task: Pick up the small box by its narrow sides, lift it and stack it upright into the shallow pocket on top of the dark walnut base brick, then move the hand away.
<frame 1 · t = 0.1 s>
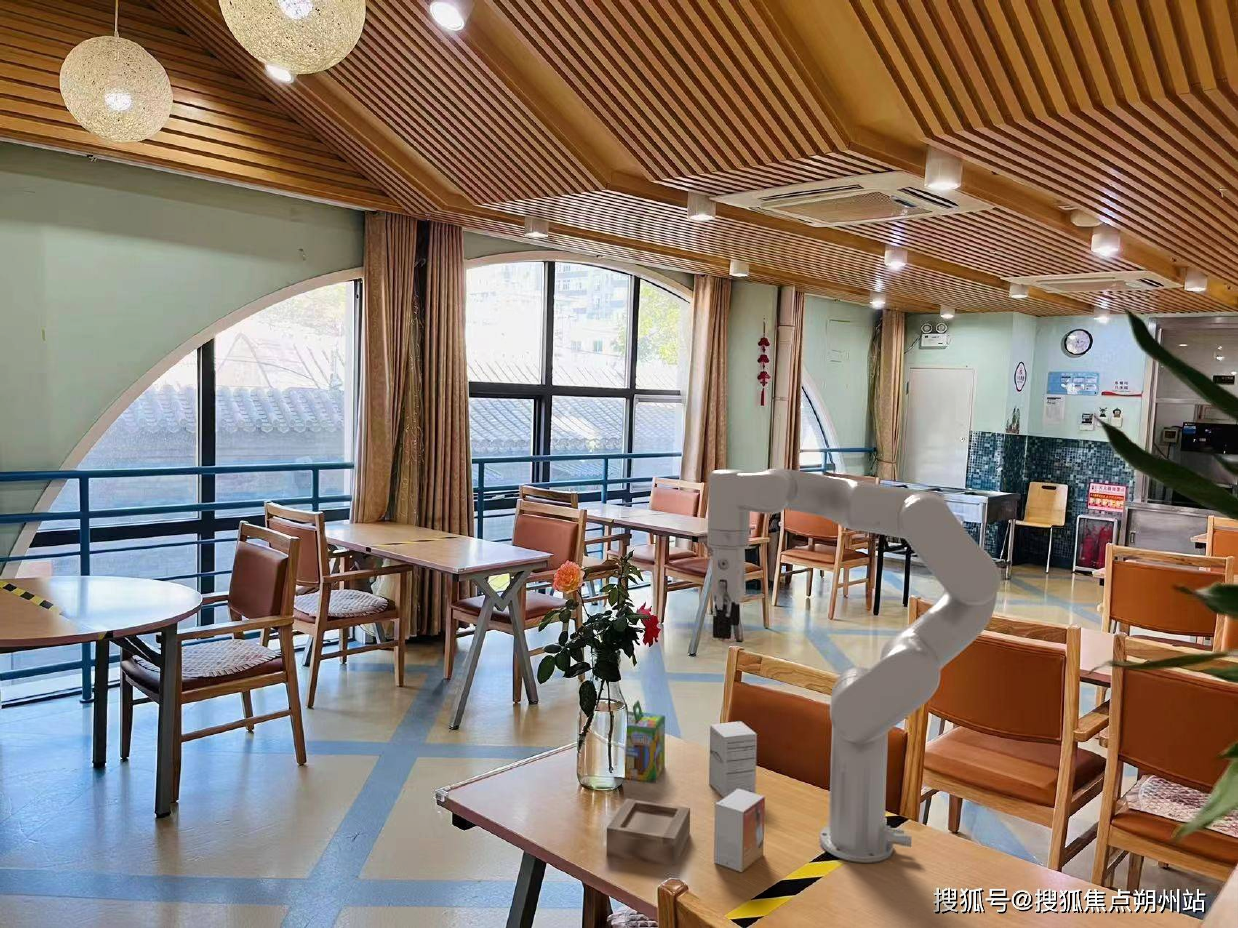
hand: (726, 631, 163), 37 cm above the table, tool pointing down, fingers open, 9 cm apart
supplement box: (731, 790, 181), on the table
chalk box: (639, 773, 189), on the table
walnut base brick: (649, 846, 159), on the table
small box: (738, 859, 154), on the table
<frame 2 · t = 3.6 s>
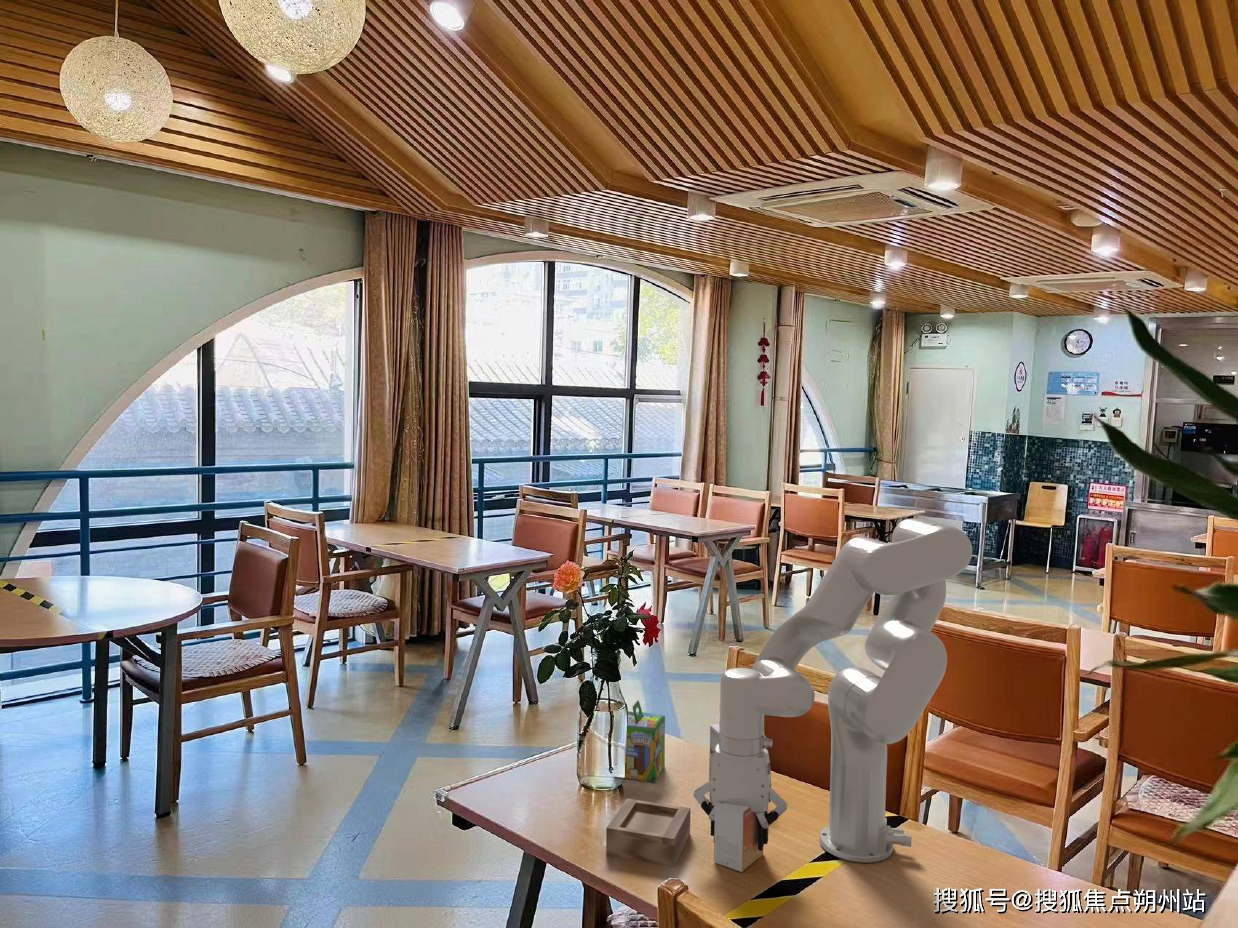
hand: (739, 842, 154), 3 cm above the table, tool pointing down, fingers closed on small box, 7 cm apart
small box: (738, 859, 154), on the table, touching gripper
everything else where it was.
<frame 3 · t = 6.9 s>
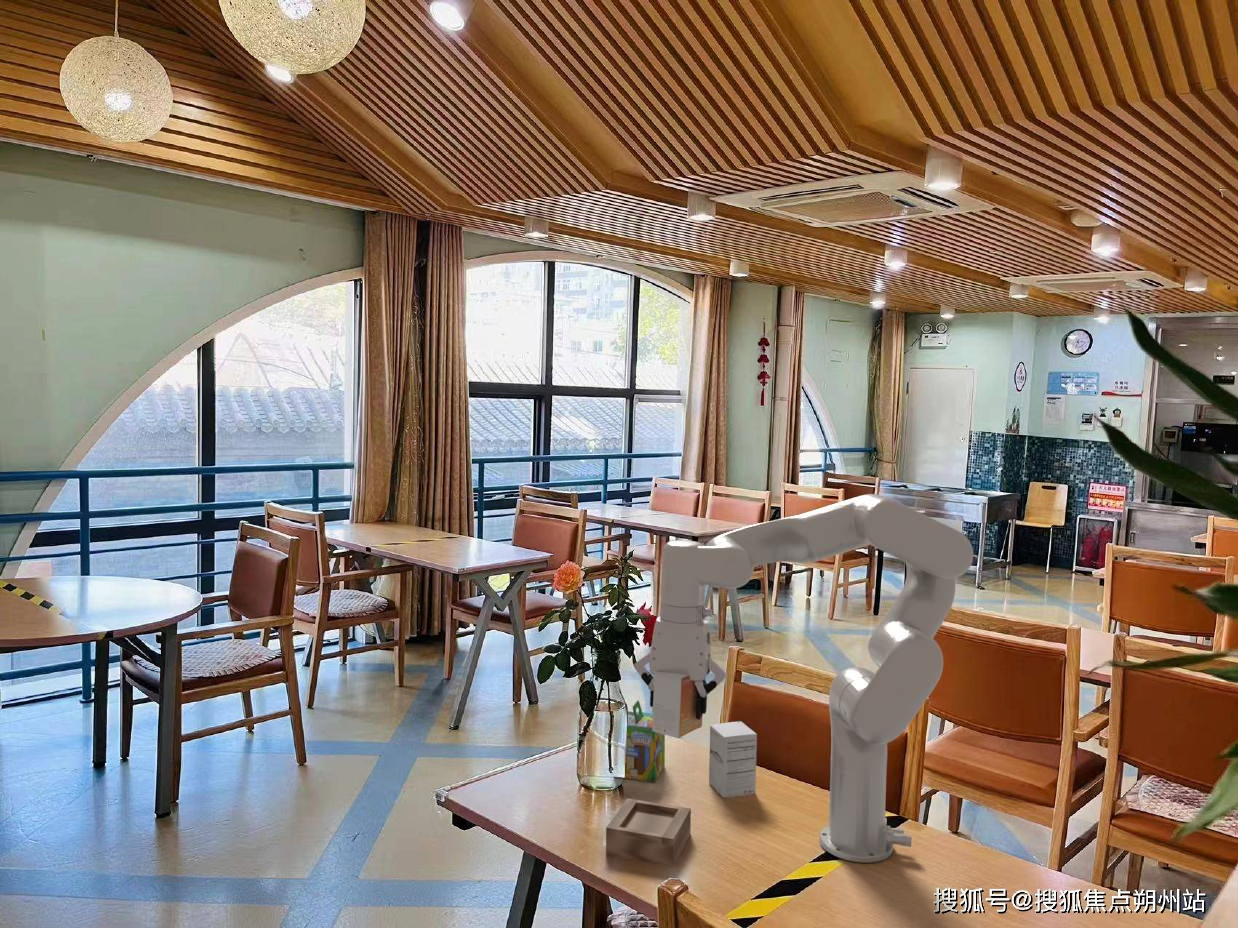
hand: (677, 713, 155), 24 cm above the table, tool pointing down, fingers closed on small box, 7 cm apart
small box: (677, 730, 155), point 21 cm above the table, touching gripper
everything else where it was.
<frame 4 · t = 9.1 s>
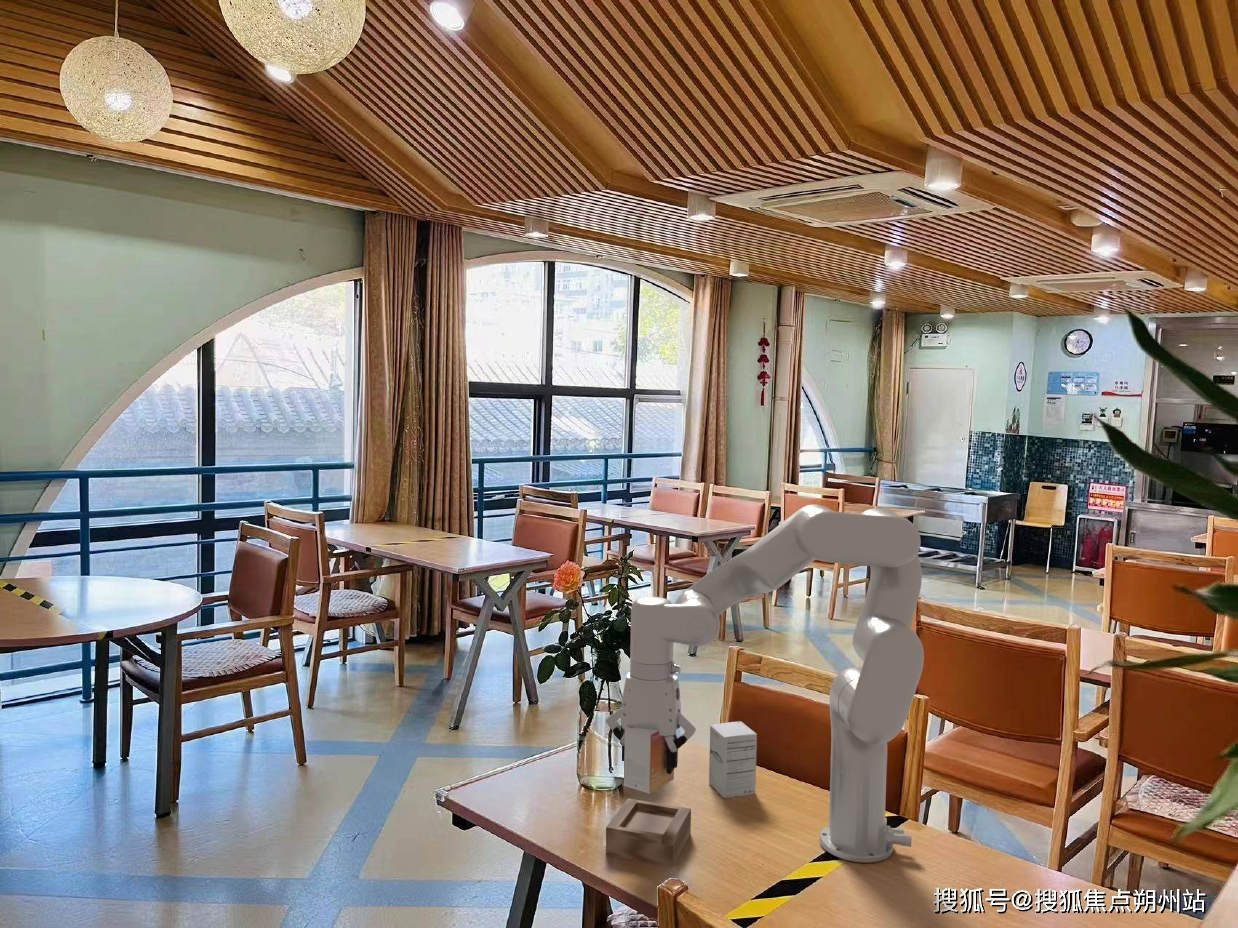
hand: (649, 767, 158), 14 cm above the table, tool pointing down, fingers closed on small box, 7 cm apart
small box: (649, 783, 158), point 11 cm above the table, touching gripper
everything else where it was.
when the fingers open (9 cm above the table, at t = 10.7 s): small box drops 2 cm, resting on walnut base brick.
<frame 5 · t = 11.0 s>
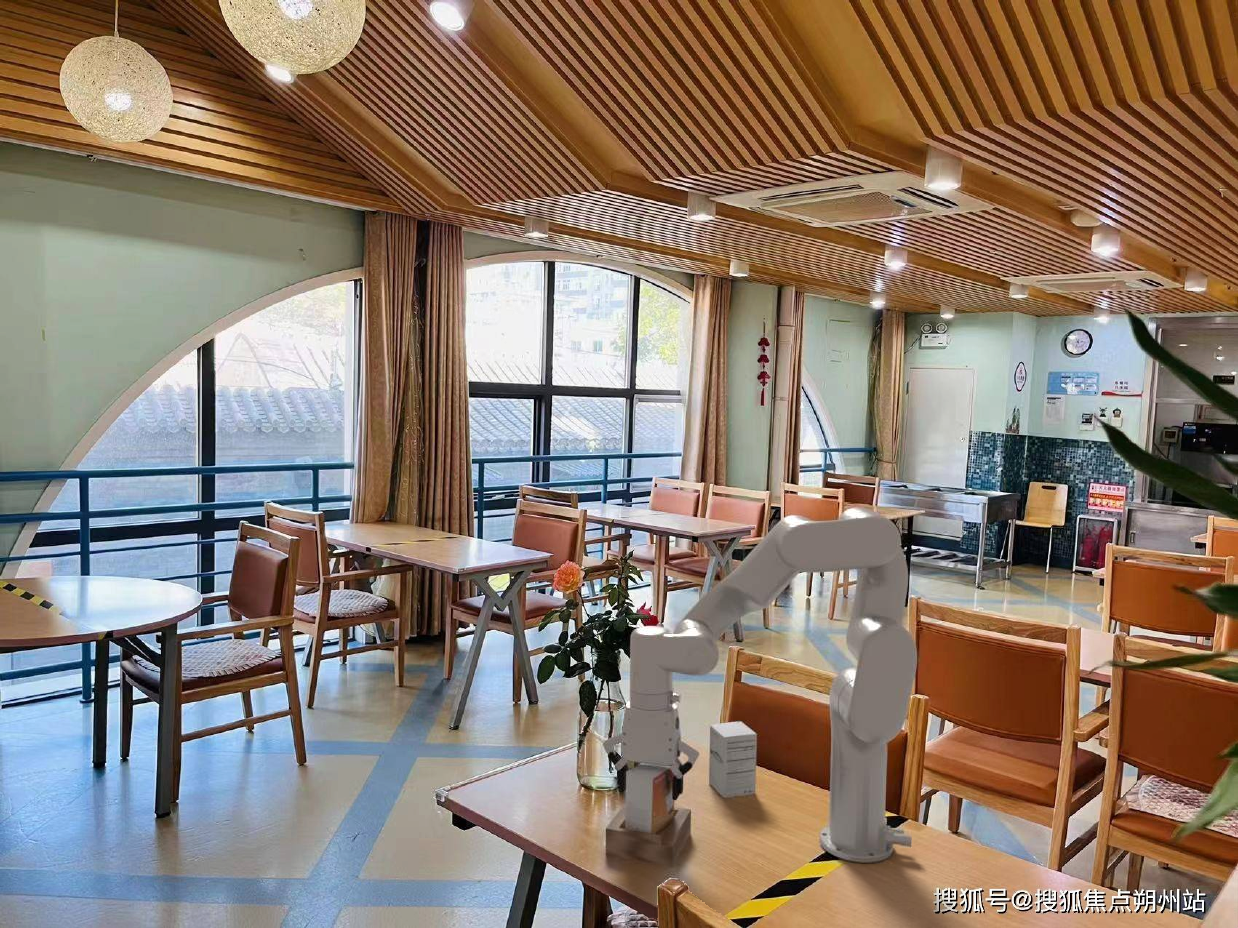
hand: (649, 793, 158), 9 cm above the table, tool pointing down, fingers open, 9 cm apart
walnut base brick: (649, 847, 159), on the table, touching small box
small box: (649, 826, 158), point 3 cm above the table, touching walnut base brick
everything else where it was.
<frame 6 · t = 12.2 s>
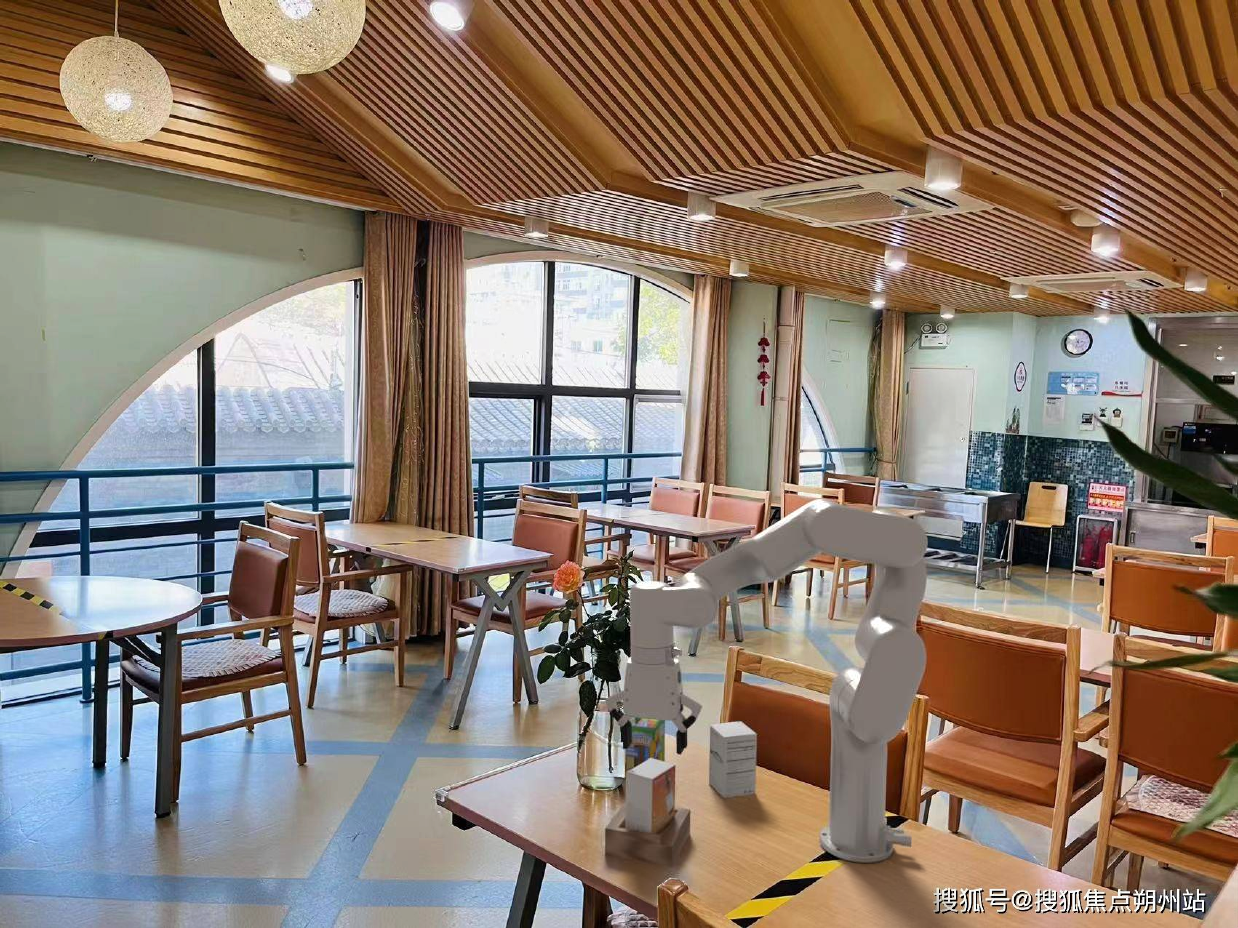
hand: (653, 748, 157), 17 cm above the table, tool pointing down, fingers open, 9 cm apart
nothing on the table moved.
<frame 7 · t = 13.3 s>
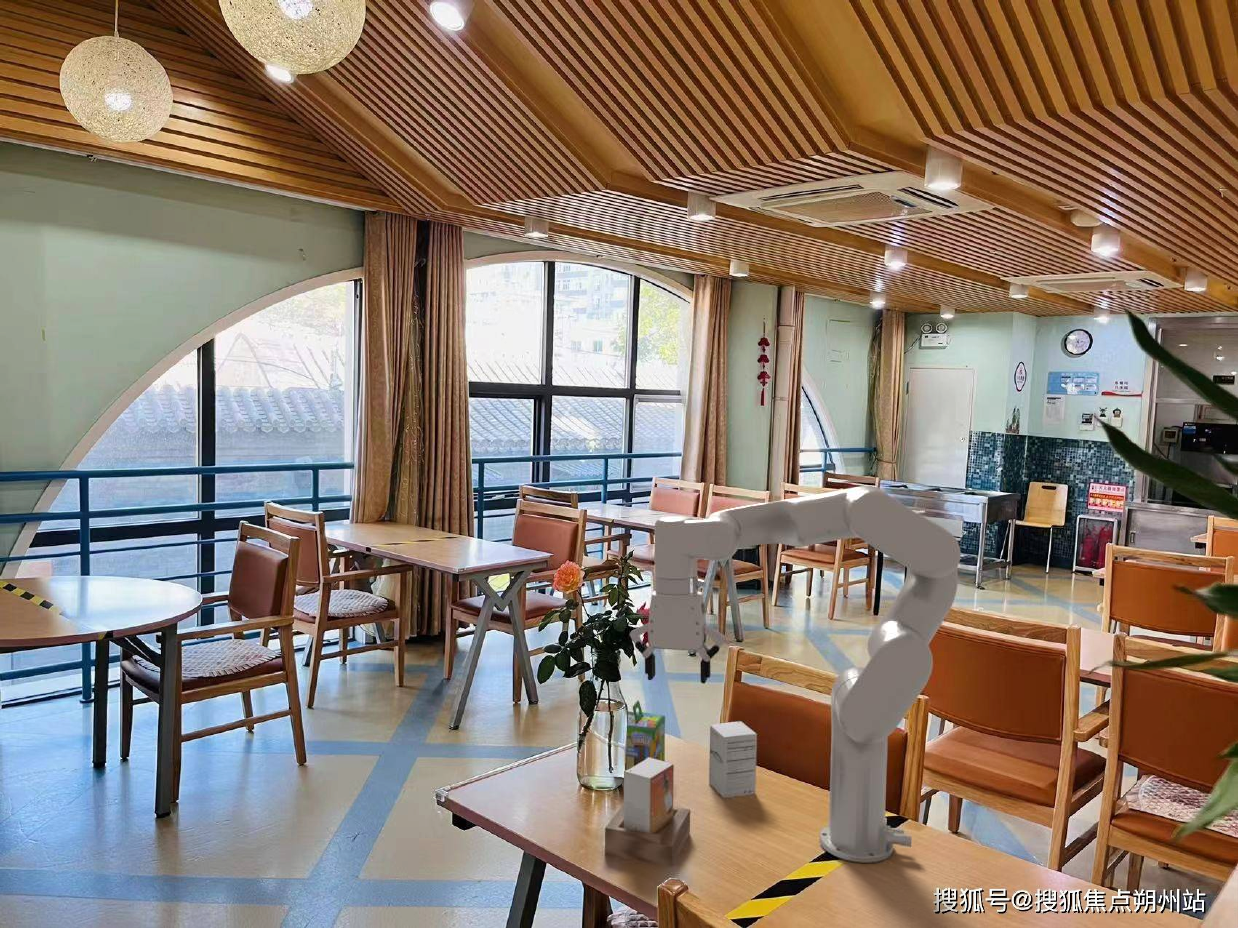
hand: (677, 679, 161), 28 cm above the table, tool pointing down, fingers open, 9 cm apart
nothing on the table moved.
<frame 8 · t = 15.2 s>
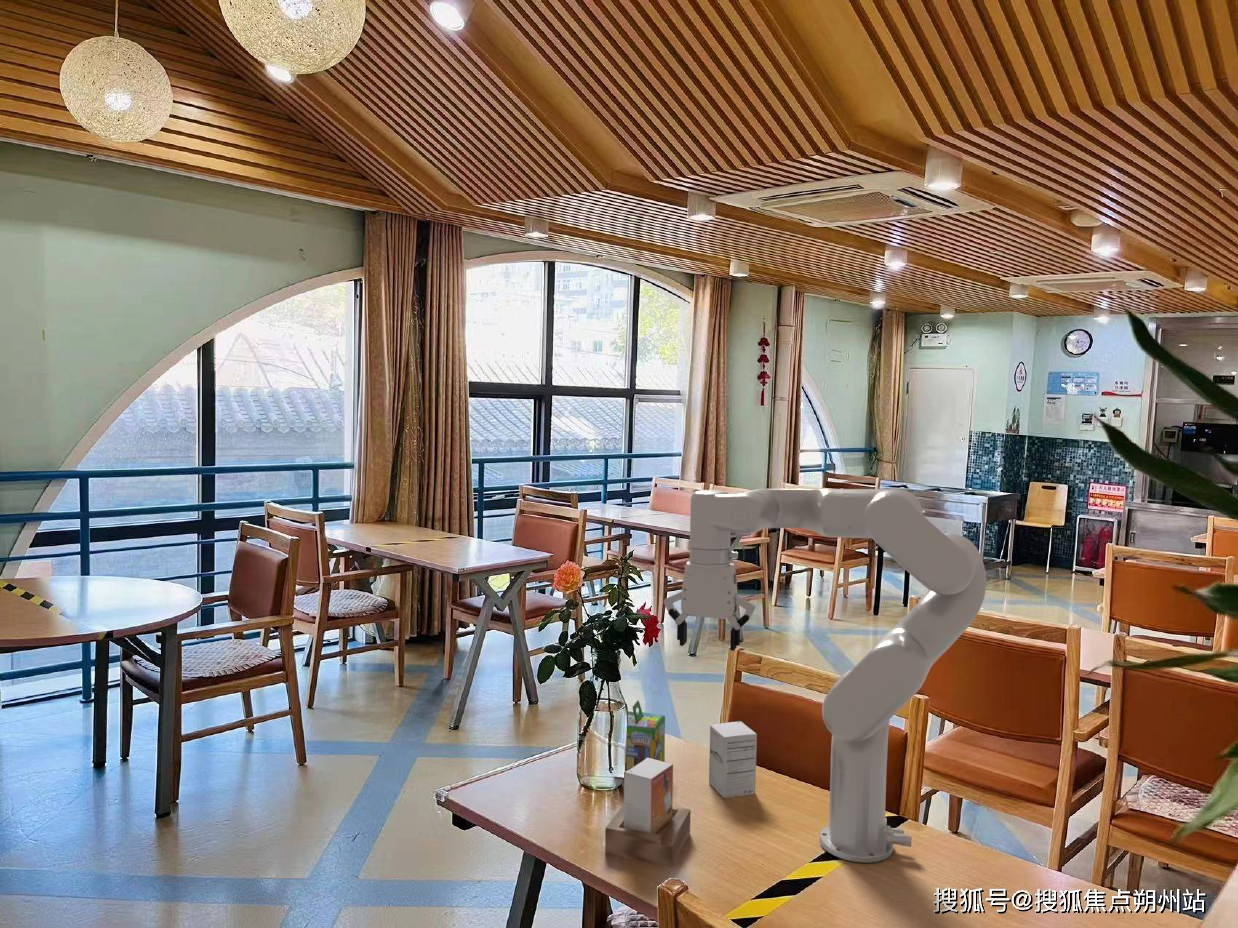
hand: (708, 646, 169), 32 cm above the table, tool pointing down, fingers open, 9 cm apart
nothing on the table moved.
at the end: small box 0.2 cm off-centre on the walnut base brick, point 3.8 cm above the walnut base brick's base; small box tilted 0°; the gripper is holding nothing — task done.
